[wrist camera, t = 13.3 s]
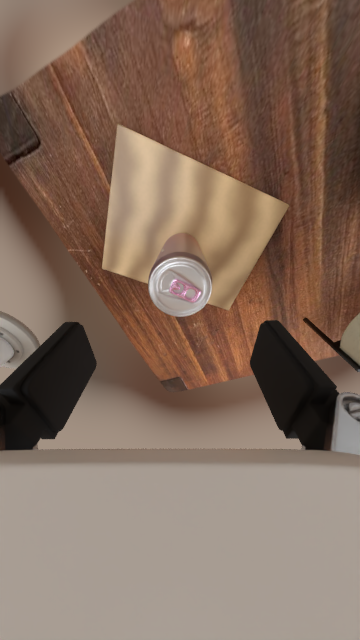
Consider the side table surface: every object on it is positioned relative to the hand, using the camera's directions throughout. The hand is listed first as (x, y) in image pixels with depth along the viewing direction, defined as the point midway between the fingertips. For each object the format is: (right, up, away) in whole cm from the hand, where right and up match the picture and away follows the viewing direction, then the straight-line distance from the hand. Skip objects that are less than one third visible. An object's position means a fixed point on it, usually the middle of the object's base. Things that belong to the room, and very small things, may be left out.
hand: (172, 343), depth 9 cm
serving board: (+1, +15, +19) cm, 24 cm away
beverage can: (+1, +12, +19) cm, 22 cm away
